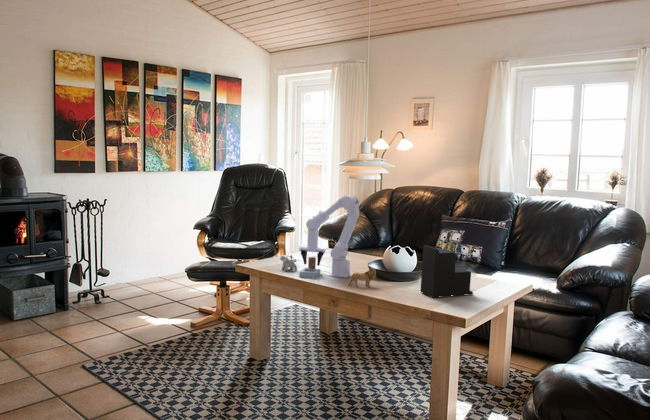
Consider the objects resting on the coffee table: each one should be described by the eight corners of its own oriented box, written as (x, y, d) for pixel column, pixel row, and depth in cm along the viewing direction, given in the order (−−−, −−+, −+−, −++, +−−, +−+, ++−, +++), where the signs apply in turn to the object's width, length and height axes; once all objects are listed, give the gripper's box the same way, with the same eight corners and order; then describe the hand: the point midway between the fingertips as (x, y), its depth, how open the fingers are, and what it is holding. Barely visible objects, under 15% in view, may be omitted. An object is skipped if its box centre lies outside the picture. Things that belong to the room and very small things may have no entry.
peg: (316, 271, 295) (316, 257, 295) (314, 272, 291) (314, 258, 291) (309, 270, 296) (309, 256, 296) (307, 272, 292) (307, 258, 292)
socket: (320, 274, 287) (320, 269, 287) (315, 278, 278) (315, 272, 278) (304, 273, 289) (304, 268, 289) (299, 276, 281) (299, 271, 280)
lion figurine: (373, 284, 269) (374, 267, 268) (377, 287, 264) (378, 269, 263) (345, 285, 265) (346, 267, 265) (349, 288, 260) (349, 270, 259)
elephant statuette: (287, 272, 291) (288, 259, 290) (273, 267, 300) (274, 254, 299) (299, 270, 298) (300, 257, 297) (285, 266, 306) (286, 253, 305)
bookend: (459, 289, 264) (462, 243, 262) (473, 295, 255) (476, 246, 252) (419, 293, 255) (422, 244, 253) (432, 298, 245) (435, 248, 243)
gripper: (327, 240, 294) (326, 264, 296) (302, 238, 298) (301, 262, 299) (323, 242, 287) (323, 266, 289) (298, 240, 291) (297, 264, 292)
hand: (311, 264), depth 294 cm, fingers open, 7 cm apart
